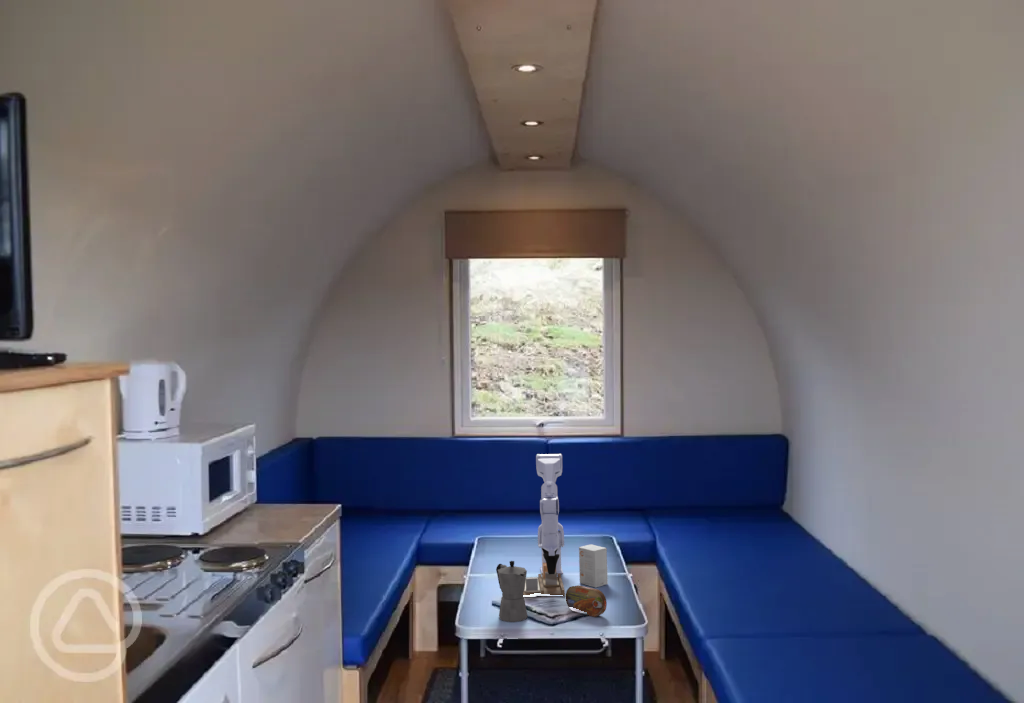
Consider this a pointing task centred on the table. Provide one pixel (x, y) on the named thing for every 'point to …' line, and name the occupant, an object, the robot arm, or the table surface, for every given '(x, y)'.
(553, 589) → the lane board
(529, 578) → the strip
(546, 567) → the cube
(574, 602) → the tin
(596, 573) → the small box
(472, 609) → the table surface
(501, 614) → the coffeepot
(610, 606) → the table surface
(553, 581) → the strip
